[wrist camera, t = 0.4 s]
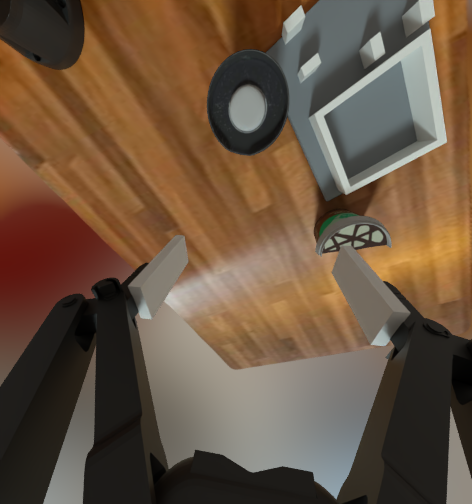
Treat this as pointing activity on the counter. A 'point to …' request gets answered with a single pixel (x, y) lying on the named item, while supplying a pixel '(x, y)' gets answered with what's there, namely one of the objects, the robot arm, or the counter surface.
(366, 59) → the clips
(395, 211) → the counter surface
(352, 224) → the food container
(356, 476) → the robot arm
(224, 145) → the travel mug
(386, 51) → the grey fixture board
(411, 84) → the end holder
